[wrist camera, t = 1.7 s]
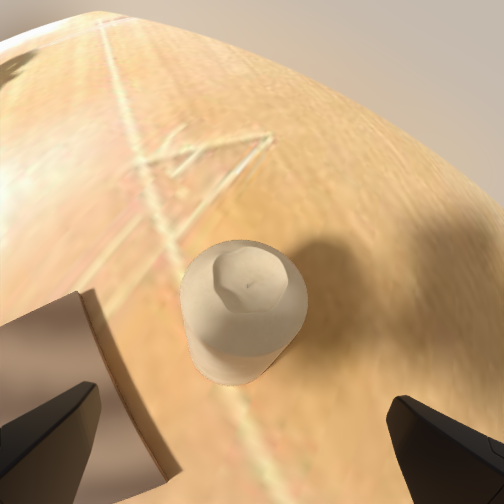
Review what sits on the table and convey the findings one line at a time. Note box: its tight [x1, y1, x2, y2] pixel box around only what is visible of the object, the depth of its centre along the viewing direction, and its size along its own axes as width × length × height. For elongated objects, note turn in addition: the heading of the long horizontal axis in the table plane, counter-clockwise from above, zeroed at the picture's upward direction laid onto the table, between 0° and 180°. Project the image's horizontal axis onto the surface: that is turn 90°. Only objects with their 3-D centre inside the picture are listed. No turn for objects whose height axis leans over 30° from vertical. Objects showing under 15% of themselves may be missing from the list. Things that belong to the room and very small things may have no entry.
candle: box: [180, 240, 308, 386], centre depth 17 cm, size 6×6×10 cm
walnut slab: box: [0, 291, 169, 504], centre depth 15 cm, size 14×14×1 cm
